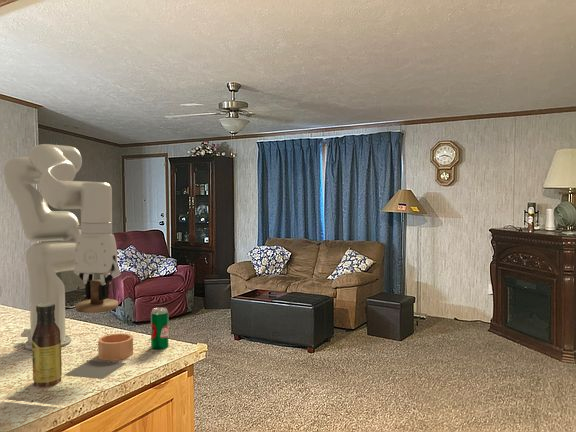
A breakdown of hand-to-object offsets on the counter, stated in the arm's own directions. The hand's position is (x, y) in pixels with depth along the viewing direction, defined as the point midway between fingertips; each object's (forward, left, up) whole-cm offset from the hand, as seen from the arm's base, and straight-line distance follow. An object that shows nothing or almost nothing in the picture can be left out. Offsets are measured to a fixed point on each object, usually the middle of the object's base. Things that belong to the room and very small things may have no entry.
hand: (97, 298), depth 123 cm
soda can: (+8, +19, -19) cm, 28 cm away
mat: (0, -1, -19) cm, 19 cm away
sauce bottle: (-6, -12, -19) cm, 23 cm away
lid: (0, 0, -3) cm, 3 cm away
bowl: (-1, +10, -19) cm, 21 cm away
